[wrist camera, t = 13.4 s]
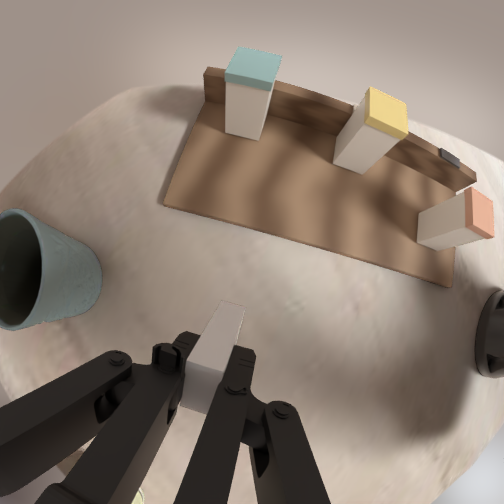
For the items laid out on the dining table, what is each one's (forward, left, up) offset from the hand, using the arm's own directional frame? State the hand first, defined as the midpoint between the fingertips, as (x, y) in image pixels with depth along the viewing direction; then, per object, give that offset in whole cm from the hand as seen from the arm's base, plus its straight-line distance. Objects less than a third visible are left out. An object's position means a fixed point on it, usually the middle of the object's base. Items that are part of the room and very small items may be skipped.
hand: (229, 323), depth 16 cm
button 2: (+4, -21, -11) cm, 24 cm away
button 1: (-22, -15, -11) cm, 29 cm away
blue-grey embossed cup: (+19, +2, -12) cm, 22 cm away
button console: (-9, -17, -12) cm, 23 cm away
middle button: (-9, -21, -11) cm, 25 cm away
